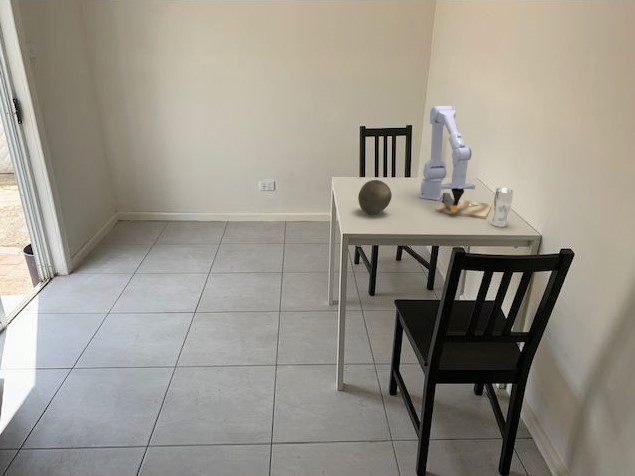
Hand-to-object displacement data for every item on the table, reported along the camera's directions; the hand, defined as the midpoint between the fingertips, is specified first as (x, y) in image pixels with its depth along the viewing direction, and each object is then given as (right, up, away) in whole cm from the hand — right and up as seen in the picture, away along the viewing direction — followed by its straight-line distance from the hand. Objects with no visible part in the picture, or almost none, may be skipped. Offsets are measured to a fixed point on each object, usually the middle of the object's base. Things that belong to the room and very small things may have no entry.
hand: (455, 204), depth 209 cm
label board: (+5, -2, +6) cm, 8 cm away
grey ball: (-36, -4, +2) cm, 36 cm away
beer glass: (+15, -9, -11) cm, 21 cm away
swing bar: (-2, 0, +5) cm, 5 cm away
